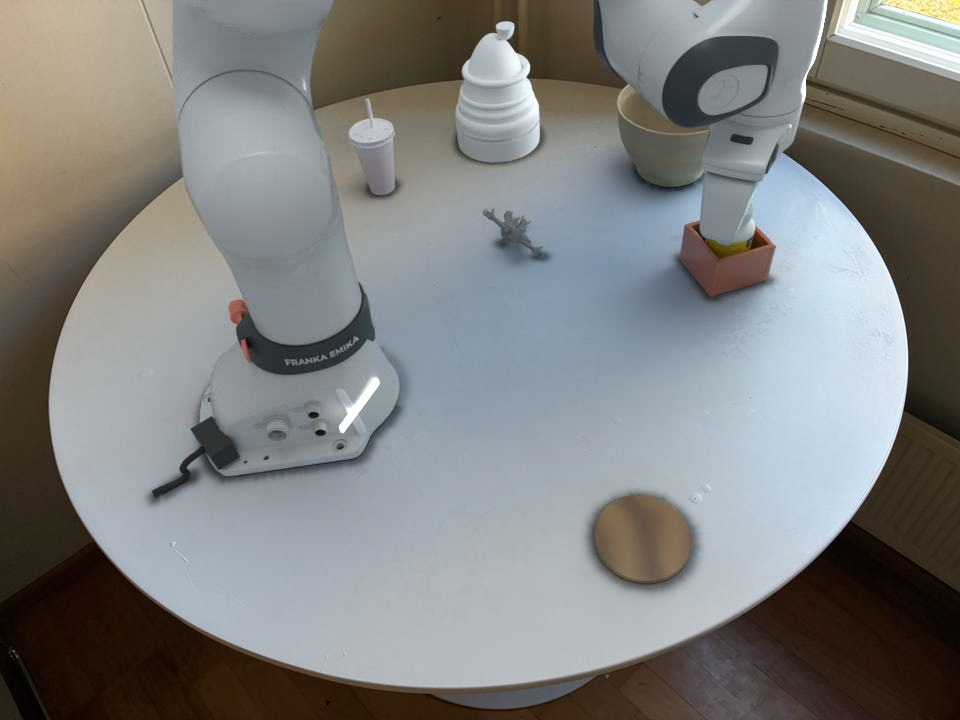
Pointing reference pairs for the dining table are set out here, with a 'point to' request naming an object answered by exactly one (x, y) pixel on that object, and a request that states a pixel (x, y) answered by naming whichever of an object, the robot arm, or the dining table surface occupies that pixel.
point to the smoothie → (375, 151)
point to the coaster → (642, 539)
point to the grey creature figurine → (514, 230)
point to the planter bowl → (659, 142)
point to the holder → (725, 262)
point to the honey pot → (497, 102)
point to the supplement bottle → (741, 240)
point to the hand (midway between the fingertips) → (731, 224)
